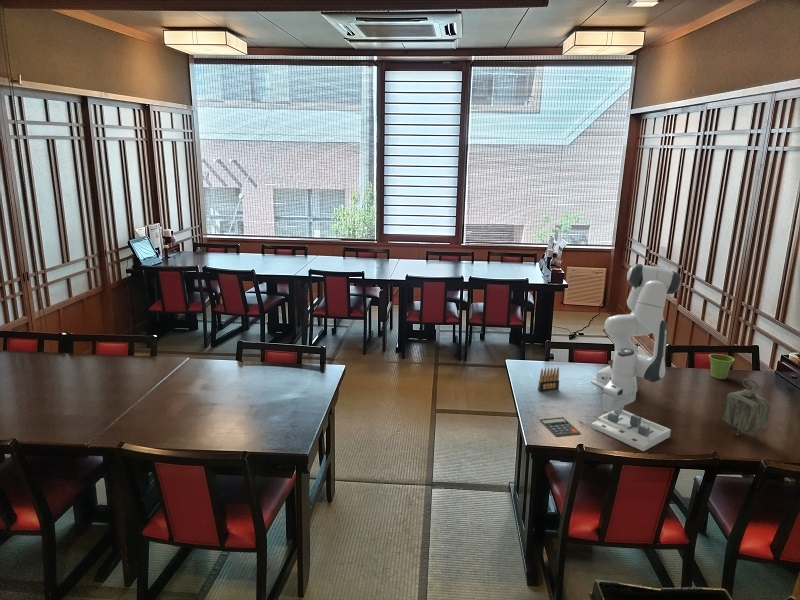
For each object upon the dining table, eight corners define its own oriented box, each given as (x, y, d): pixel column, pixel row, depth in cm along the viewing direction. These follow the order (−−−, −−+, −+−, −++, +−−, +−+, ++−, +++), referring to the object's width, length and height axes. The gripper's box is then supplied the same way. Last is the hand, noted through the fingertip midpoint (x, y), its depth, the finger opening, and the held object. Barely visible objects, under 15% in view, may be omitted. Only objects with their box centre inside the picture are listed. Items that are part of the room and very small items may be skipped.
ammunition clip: (556, 388, 269) (558, 366, 266) (558, 389, 267) (560, 367, 264) (537, 390, 266) (539, 368, 263) (539, 391, 264) (541, 369, 261)
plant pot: (726, 374, 290) (729, 354, 287) (734, 382, 279) (738, 362, 276) (702, 371, 293) (705, 352, 290) (709, 380, 281) (713, 360, 279)
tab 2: (629, 424, 227) (630, 415, 226) (633, 422, 229) (635, 413, 228) (636, 427, 225) (637, 418, 224) (640, 425, 227) (641, 416, 226)
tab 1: (607, 421, 230) (608, 413, 229) (611, 419, 231) (612, 411, 230) (613, 424, 227) (614, 415, 226) (618, 422, 229) (619, 413, 228)
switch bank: (591, 427, 229) (591, 419, 228) (617, 415, 241) (618, 408, 240) (643, 451, 211) (644, 443, 210) (669, 437, 222) (670, 429, 221)
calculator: (556, 435, 221) (539, 419, 235) (555, 437, 221) (539, 420, 235) (581, 432, 223) (563, 416, 238) (581, 434, 224) (562, 418, 238)
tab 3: (637, 434, 219) (638, 425, 218) (641, 432, 220) (643, 423, 219) (644, 437, 216) (645, 428, 215) (648, 435, 218) (649, 426, 217)
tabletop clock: (764, 441, 220) (775, 385, 213) (748, 444, 217) (759, 388, 210) (732, 425, 233) (742, 372, 226) (717, 428, 230) (726, 374, 224)
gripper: (628, 378, 235) (624, 406, 239) (600, 388, 224) (597, 418, 227) (641, 382, 230) (637, 411, 234) (614, 394, 219) (610, 424, 222)
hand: (617, 415), depth 230 cm, fingers closed
